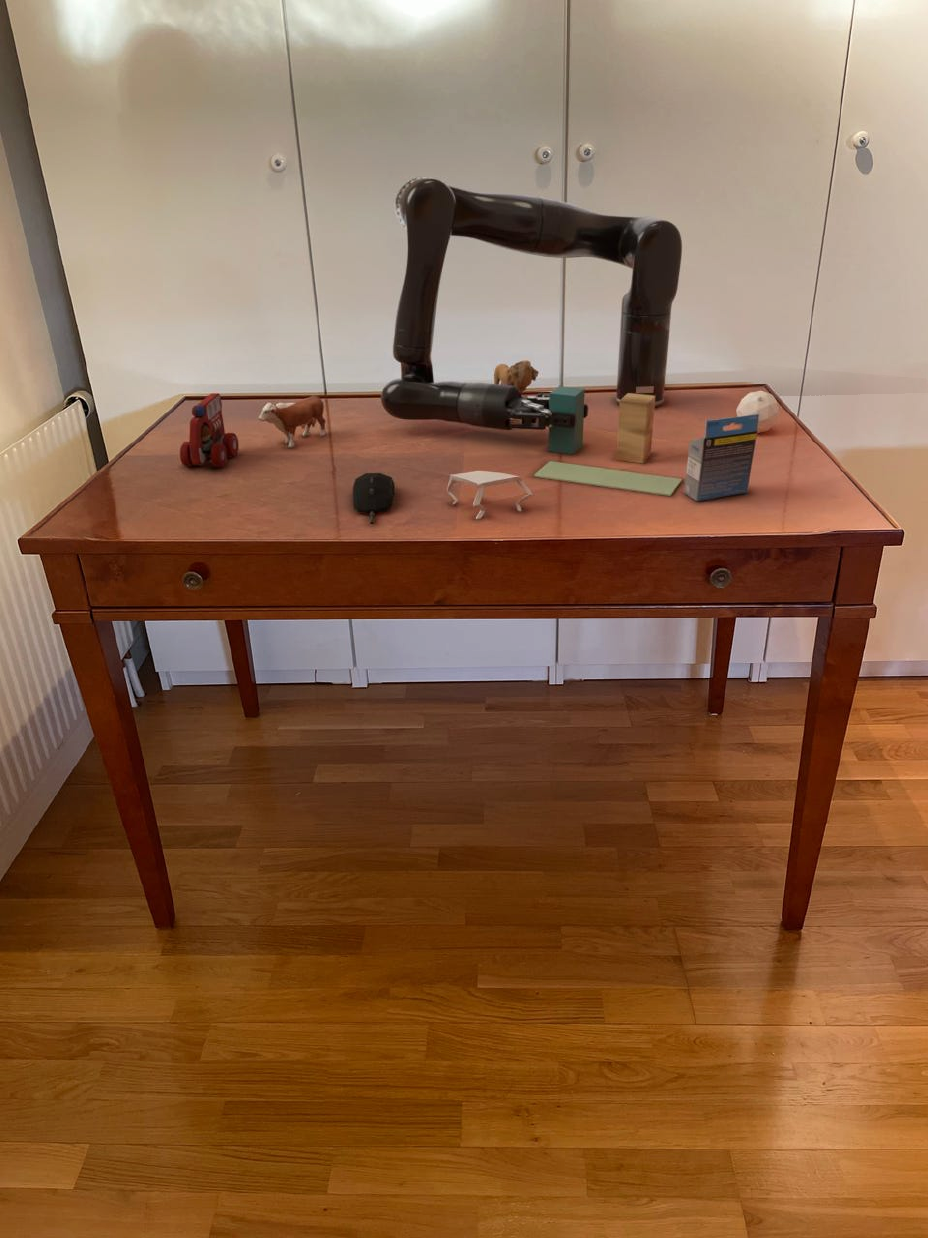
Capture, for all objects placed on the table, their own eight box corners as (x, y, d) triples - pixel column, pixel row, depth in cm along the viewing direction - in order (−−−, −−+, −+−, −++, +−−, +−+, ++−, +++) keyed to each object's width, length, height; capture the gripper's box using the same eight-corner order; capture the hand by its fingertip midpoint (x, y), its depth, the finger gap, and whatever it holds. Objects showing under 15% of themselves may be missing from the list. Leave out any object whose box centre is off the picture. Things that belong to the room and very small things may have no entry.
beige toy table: (453, 523, 126) (452, 490, 123) (446, 501, 133) (445, 470, 130) (536, 516, 127) (536, 484, 124) (524, 495, 134) (525, 464, 132)
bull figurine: (259, 449, 156) (252, 403, 152) (319, 430, 165) (314, 386, 160) (274, 454, 154) (268, 408, 149) (334, 434, 162) (329, 390, 158)
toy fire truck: (177, 473, 147) (164, 411, 141) (206, 448, 157) (196, 390, 152) (216, 474, 146) (205, 412, 140) (243, 449, 156) (234, 390, 151)
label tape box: (733, 485, 135) (744, 405, 129) (749, 494, 132) (760, 413, 126) (683, 493, 133) (691, 413, 127) (697, 503, 130) (706, 421, 123)
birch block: (624, 451, 150) (628, 392, 145) (650, 454, 148) (655, 395, 143) (615, 460, 146) (619, 400, 141) (643, 463, 144) (647, 403, 139)
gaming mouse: (349, 525, 126) (347, 499, 124) (355, 487, 139) (352, 462, 137) (393, 523, 126) (391, 497, 124) (395, 485, 139) (393, 461, 137)
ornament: (785, 429, 157) (789, 402, 150) (746, 447, 157) (749, 420, 150) (766, 401, 160) (769, 373, 153) (728, 419, 160) (729, 391, 153)
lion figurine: (541, 406, 174) (542, 360, 169) (519, 411, 171) (520, 364, 167) (498, 390, 184) (498, 346, 180) (477, 395, 182) (476, 350, 177)
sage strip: (549, 462, 146) (549, 460, 146) (682, 480, 137) (682, 478, 137) (533, 476, 141) (533, 475, 140) (670, 496, 132) (670, 494, 132)
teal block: (557, 442, 154) (559, 385, 149) (582, 446, 153) (585, 388, 148) (548, 451, 151) (549, 393, 146) (573, 454, 149) (575, 395, 144)
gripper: (471, 395, 147) (567, 405, 140) (505, 374, 158) (596, 382, 151) (472, 438, 151) (566, 450, 144) (505, 415, 162) (594, 425, 155)
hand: (581, 416), depth 148 cm, fingers open, 5 cm apart
